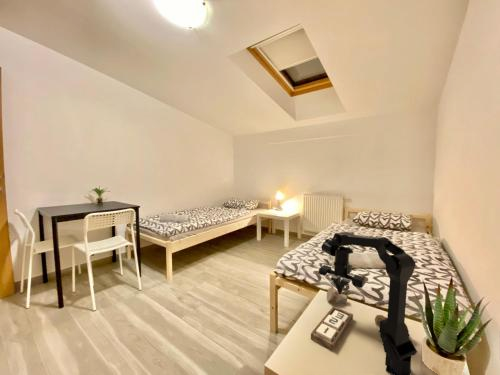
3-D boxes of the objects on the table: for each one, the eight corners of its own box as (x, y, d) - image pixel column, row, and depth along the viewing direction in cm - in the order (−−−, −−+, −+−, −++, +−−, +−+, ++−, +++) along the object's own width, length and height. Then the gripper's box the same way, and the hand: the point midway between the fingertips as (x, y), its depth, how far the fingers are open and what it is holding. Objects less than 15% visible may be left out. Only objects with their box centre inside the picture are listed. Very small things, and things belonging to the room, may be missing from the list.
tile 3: (348, 318, 99) (348, 315, 99) (343, 325, 94) (344, 321, 94) (335, 312, 103) (335, 309, 103) (330, 319, 98) (330, 315, 98)
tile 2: (342, 323, 93) (343, 320, 93) (337, 331, 89) (338, 327, 88) (329, 317, 97) (329, 314, 97) (323, 324, 93) (323, 320, 92)
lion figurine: (378, 341, 86) (379, 320, 85) (370, 331, 91) (371, 311, 91) (414, 341, 87) (415, 319, 86) (404, 331, 92) (405, 311, 91)
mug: (350, 307, 108) (343, 292, 106) (332, 312, 111) (324, 297, 109) (347, 295, 115) (339, 281, 113) (329, 300, 118) (322, 286, 116)
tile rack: (352, 319, 99) (353, 314, 99) (333, 351, 81) (333, 345, 81) (333, 310, 105) (333, 306, 105) (310, 339, 87) (310, 333, 87)
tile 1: (336, 333, 87) (336, 329, 87) (330, 342, 83) (330, 338, 83) (322, 326, 91) (322, 322, 91) (315, 334, 87) (316, 330, 87)
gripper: (369, 260, 96) (367, 294, 97) (328, 250, 109) (326, 280, 110) (362, 268, 88) (360, 305, 89) (318, 256, 100) (317, 288, 101)
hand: (340, 293), depth 98 cm, fingers closed
